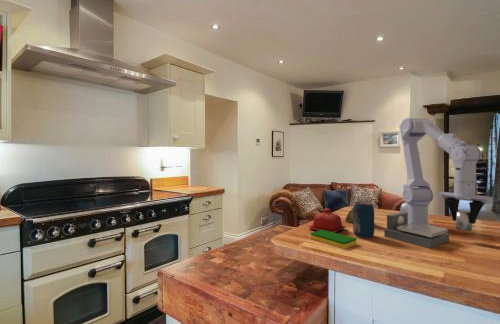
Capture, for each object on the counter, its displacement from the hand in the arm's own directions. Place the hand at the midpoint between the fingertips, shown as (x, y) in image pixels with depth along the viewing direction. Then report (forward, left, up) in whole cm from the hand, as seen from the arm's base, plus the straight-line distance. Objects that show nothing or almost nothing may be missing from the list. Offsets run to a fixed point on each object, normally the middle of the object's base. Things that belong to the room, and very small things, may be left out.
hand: (463, 221), depth 94 cm
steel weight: (0, 0, -3) cm, 2 cm away
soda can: (-22, -23, -7) cm, 32 cm away
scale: (-10, -11, -7) cm, 16 cm away
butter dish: (-35, -27, -7) cm, 45 cm away
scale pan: (-9, -11, -3) cm, 14 cm away
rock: (-35, -8, -7) cm, 36 cm away
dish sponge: (-24, -37, -7) cm, 45 cm away
